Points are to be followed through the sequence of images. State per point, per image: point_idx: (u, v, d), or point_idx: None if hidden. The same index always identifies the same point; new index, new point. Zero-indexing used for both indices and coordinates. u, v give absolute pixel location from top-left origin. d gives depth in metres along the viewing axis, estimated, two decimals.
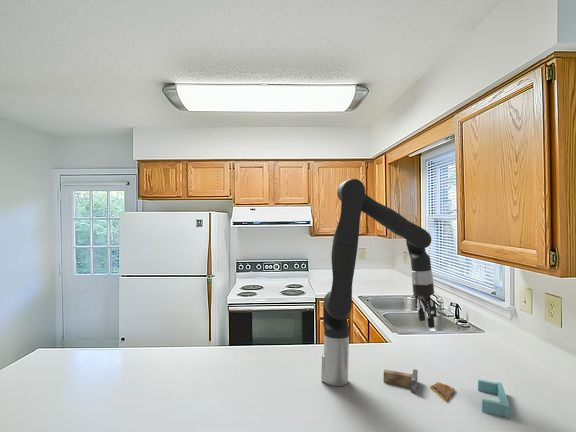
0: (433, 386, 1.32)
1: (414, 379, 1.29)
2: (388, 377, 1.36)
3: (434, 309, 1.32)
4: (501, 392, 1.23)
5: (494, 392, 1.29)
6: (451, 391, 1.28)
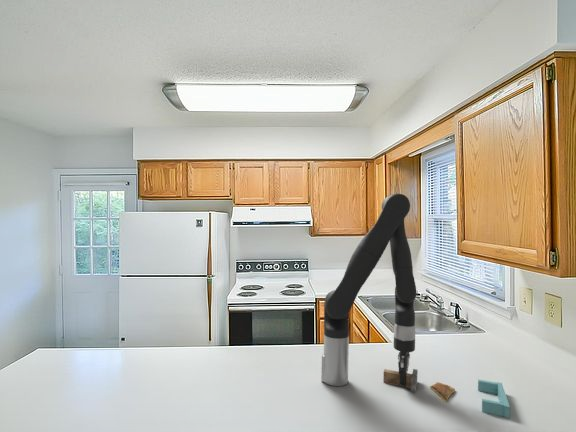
0: (433, 386, 1.32)
1: (414, 379, 1.29)
2: (388, 377, 1.36)
3: (404, 370, 1.29)
4: (501, 392, 1.23)
5: (494, 392, 1.29)
6: (451, 391, 1.28)
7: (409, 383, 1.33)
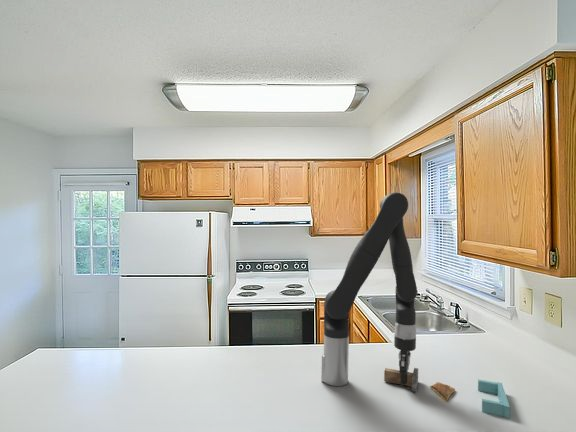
0: (433, 386, 1.32)
1: (415, 378, 1.29)
2: (388, 376, 1.36)
3: (404, 369, 1.29)
4: (501, 392, 1.23)
5: (494, 392, 1.29)
6: (451, 391, 1.28)
7: (410, 382, 1.33)
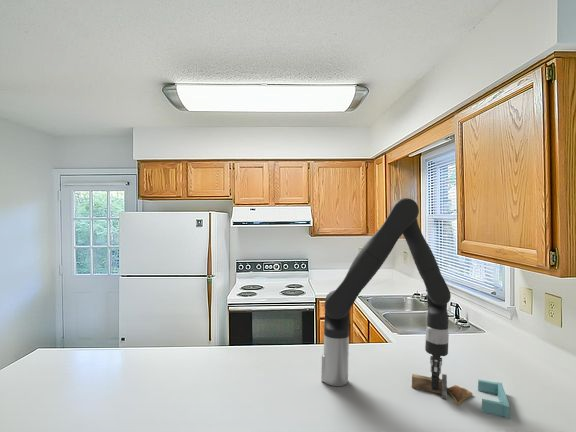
0: (449, 388, 1.30)
1: (445, 384, 1.25)
2: (416, 382, 1.32)
3: (437, 375, 1.25)
4: (501, 392, 1.23)
5: (494, 392, 1.29)
6: (467, 395, 1.25)
7: (439, 389, 1.29)
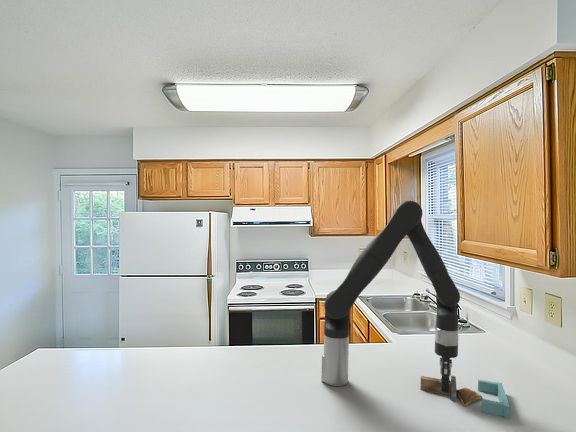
0: (458, 390, 1.29)
1: (454, 386, 1.24)
2: (425, 384, 1.30)
3: (447, 377, 1.24)
4: (501, 392, 1.23)
5: (494, 392, 1.29)
6: (476, 397, 1.24)
7: (448, 391, 1.27)
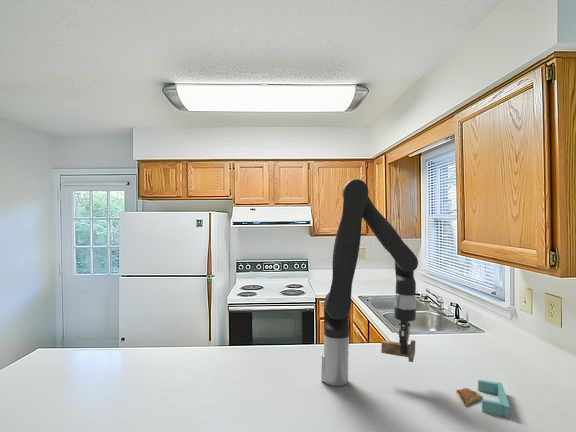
0: (459, 390, 1.29)
1: (412, 348, 1.30)
2: (386, 347, 1.36)
3: (404, 339, 1.29)
4: (501, 392, 1.23)
5: (494, 392, 1.29)
6: (476, 398, 1.24)
7: (407, 353, 1.33)
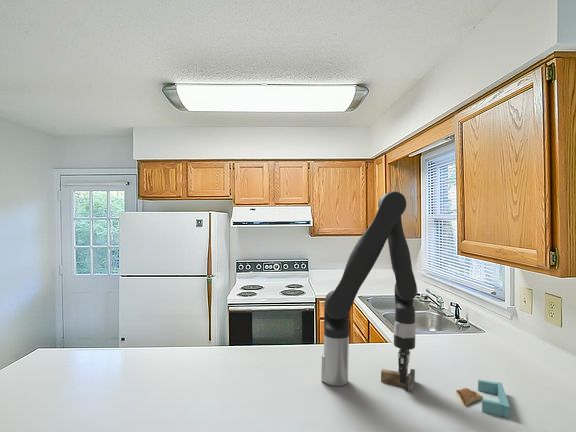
0: (459, 391, 1.29)
1: (411, 379, 1.30)
2: (385, 377, 1.36)
3: (404, 367, 1.29)
4: (501, 392, 1.23)
5: (494, 392, 1.29)
6: (476, 398, 1.24)
7: (406, 383, 1.33)
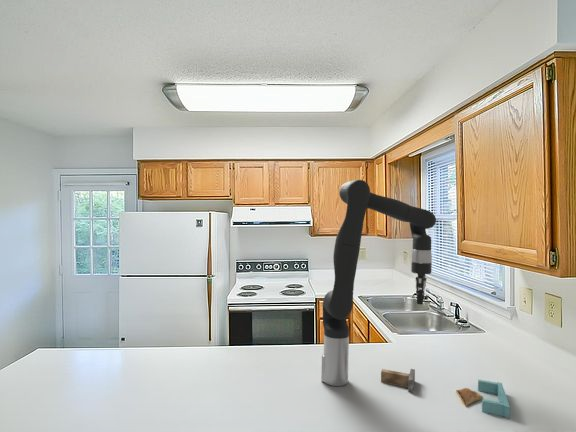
0: (459, 391, 1.29)
1: (411, 379, 1.30)
2: (385, 377, 1.36)
3: (421, 286, 1.39)
4: (501, 392, 1.23)
5: (494, 392, 1.29)
6: (476, 398, 1.24)
7: (406, 383, 1.33)
